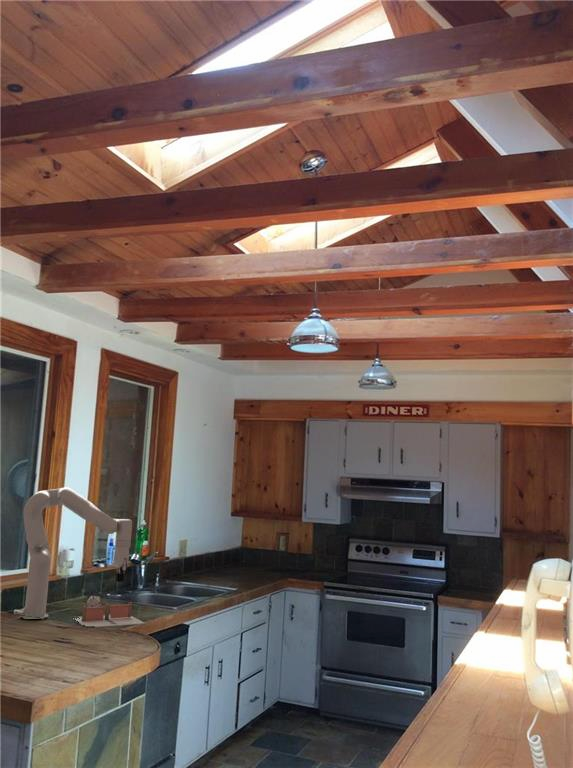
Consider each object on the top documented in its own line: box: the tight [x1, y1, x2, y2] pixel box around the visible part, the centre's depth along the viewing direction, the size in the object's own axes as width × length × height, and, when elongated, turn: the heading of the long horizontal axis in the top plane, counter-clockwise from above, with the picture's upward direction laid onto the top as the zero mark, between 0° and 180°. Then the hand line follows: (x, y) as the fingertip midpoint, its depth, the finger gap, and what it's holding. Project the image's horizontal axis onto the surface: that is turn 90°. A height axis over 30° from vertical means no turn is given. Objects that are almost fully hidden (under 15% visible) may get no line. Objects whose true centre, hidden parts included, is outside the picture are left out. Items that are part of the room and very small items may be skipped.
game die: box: [84, 594, 104, 608], centre depth 342 cm, size 9×8×10 cm
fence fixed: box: [81, 603, 111, 621], centre depth 319 cm, size 13×2×7 cm, turn 123°
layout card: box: [72, 614, 146, 628], centre depth 319 cm, size 28×24×1 cm
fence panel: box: [109, 602, 133, 618], centre depth 325 cm, size 11×2×7 cm, turn 123°
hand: (119, 581), depth 333 cm, fingers closed
